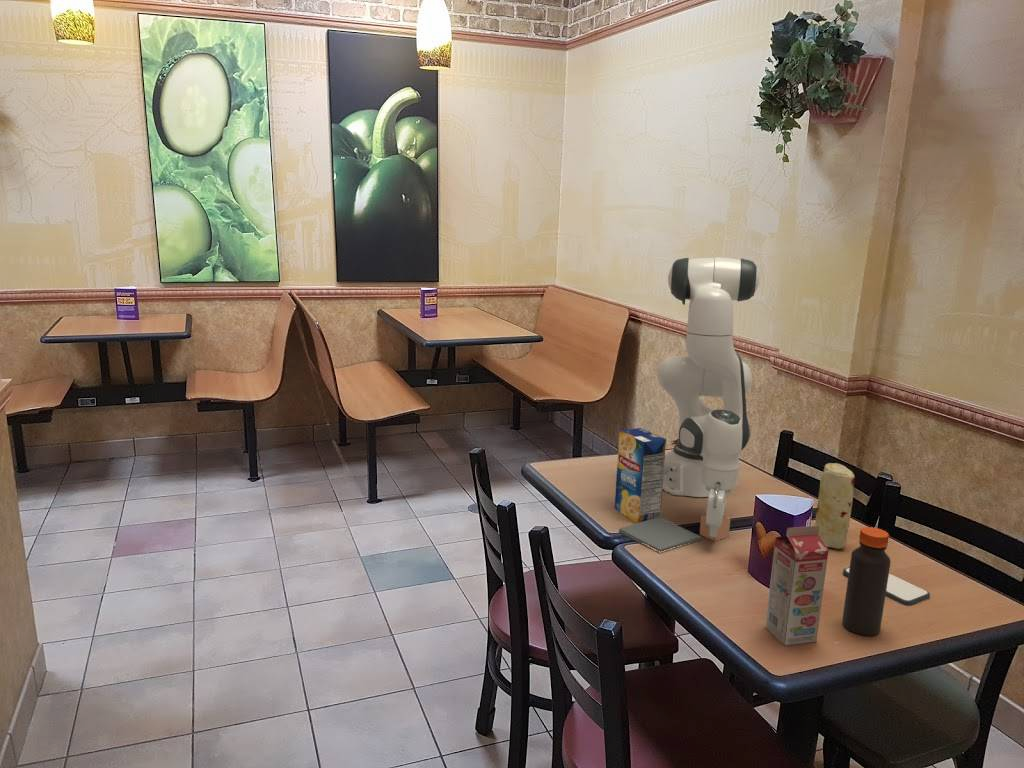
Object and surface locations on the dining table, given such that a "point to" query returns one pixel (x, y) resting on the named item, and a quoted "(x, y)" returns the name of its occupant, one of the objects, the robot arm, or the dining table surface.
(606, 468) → the dining table surface
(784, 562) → the juice carton
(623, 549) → the dining table surface
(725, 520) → the cube
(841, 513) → the food model
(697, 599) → the dining table surface
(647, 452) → the blue tall cardboard box
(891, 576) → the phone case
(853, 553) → the bottle
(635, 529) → the coaster
